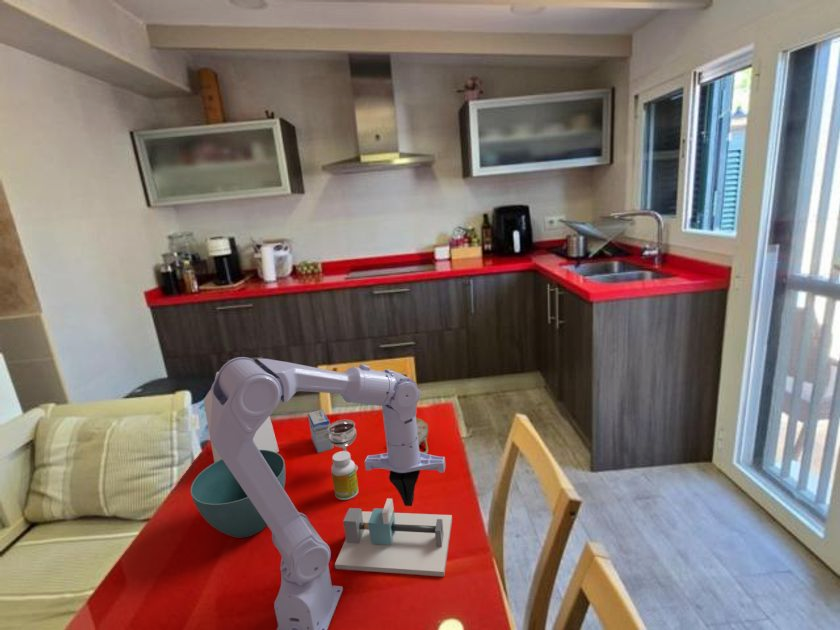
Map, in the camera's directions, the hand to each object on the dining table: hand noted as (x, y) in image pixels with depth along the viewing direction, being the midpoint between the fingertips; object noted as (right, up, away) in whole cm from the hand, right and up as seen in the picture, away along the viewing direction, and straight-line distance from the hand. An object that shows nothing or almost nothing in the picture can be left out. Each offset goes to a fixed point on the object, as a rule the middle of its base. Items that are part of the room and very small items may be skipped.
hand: (409, 502), depth 82 cm
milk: (-45, -4, +38) cm, 59 cm away
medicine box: (-25, -1, +41) cm, 48 cm away
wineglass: (-16, -4, +28) cm, 33 cm away
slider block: (-5, -8, +3) cm, 10 cm away
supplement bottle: (-15, -6, +19) cm, 25 cm away
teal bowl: (-34, -10, +12) cm, 38 cm away
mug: (+1, -1, +35) cm, 35 cm away
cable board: (-2, -9, +3) cm, 10 cm away
